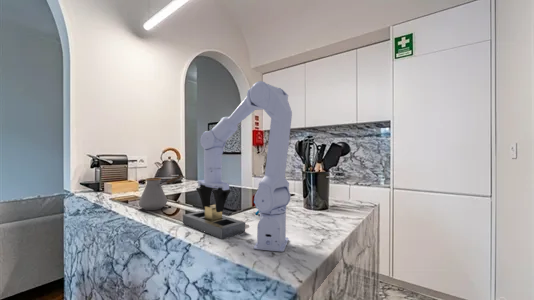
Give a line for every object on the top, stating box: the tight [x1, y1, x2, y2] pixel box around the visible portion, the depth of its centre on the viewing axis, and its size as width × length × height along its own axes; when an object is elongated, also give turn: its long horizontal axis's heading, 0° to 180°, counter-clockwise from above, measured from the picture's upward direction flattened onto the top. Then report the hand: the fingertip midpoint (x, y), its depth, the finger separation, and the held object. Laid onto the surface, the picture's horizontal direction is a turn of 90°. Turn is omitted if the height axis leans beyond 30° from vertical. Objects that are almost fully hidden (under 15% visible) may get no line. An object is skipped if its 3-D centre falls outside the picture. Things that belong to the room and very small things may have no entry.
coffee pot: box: [138, 174, 186, 211], centre depth 108 cm, size 21×12×15 cm, turn 71°
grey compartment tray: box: [182, 210, 246, 240], centre depth 83 cm, size 22×9×3 cm, turn 47°
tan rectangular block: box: [204, 204, 223, 222], centre depth 83 cm, size 4×4×7 cm
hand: (212, 209), depth 83 cm, fingers open, 7 cm apart
